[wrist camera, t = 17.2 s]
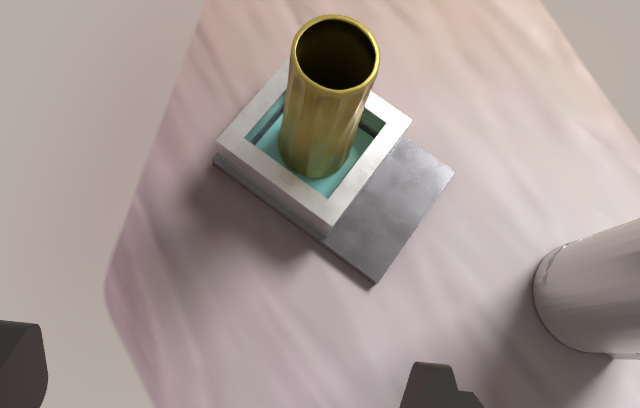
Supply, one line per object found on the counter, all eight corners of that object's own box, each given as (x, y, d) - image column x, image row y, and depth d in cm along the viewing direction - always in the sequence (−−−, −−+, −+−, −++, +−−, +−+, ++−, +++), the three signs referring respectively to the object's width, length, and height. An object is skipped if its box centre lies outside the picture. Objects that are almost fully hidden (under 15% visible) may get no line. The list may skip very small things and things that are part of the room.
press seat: (371, 142, 46) (374, 138, 45) (321, 207, 44) (322, 204, 43) (303, 93, 47) (304, 87, 46) (250, 155, 45) (250, 151, 44)
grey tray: (451, 175, 47) (472, 155, 42) (375, 284, 44) (388, 276, 39) (297, 66, 48) (300, 34, 44) (212, 163, 45) (206, 141, 40)
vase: (342, 186, 44) (377, 112, 30) (269, 169, 43) (271, 85, 30) (356, 120, 45) (396, 21, 32) (286, 103, 45) (296, -5, 31)
